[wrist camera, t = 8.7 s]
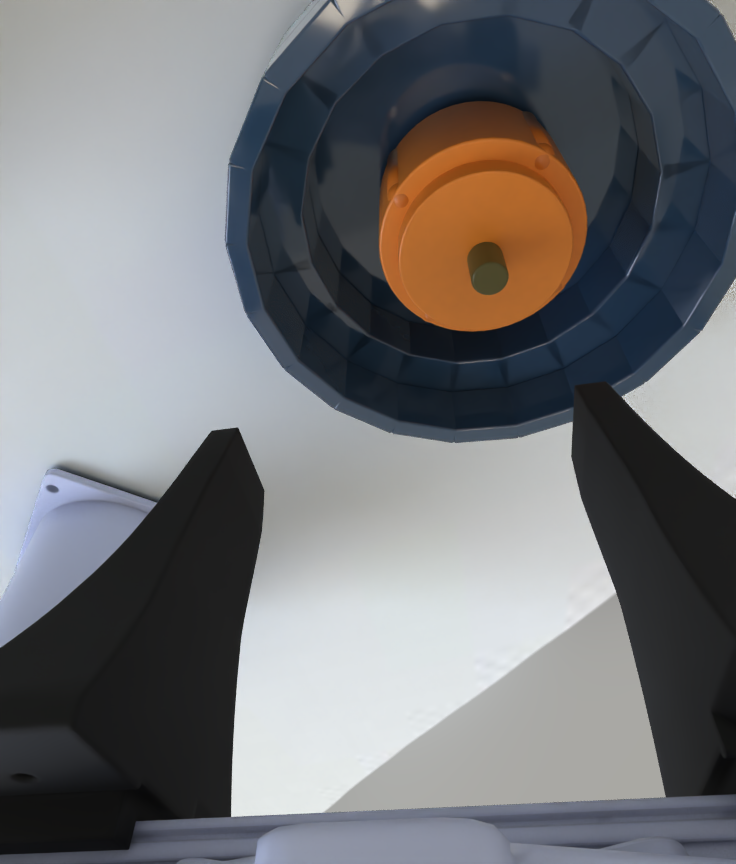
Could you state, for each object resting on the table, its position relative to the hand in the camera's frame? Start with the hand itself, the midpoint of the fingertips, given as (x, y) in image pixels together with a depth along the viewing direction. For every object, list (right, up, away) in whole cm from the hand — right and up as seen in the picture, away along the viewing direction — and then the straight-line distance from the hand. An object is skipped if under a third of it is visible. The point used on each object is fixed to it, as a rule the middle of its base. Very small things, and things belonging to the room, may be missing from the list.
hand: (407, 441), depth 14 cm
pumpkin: (+2, +7, +6) cm, 9 cm away
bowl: (+2, +8, +6) cm, 10 cm away
